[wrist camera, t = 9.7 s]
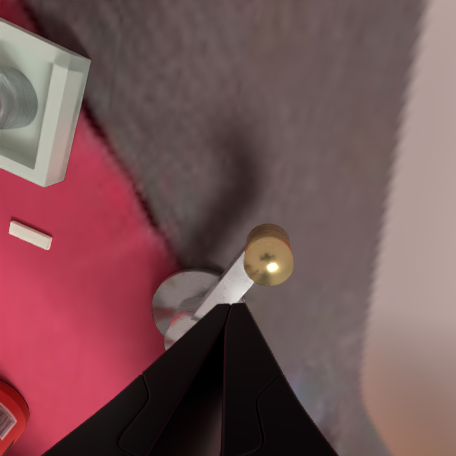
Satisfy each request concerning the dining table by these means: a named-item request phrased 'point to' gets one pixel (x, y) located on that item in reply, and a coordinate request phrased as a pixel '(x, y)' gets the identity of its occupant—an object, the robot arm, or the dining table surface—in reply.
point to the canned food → (11, 417)
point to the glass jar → (16, 99)
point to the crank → (239, 277)
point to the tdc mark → (30, 235)
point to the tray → (42, 105)
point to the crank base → (181, 293)
